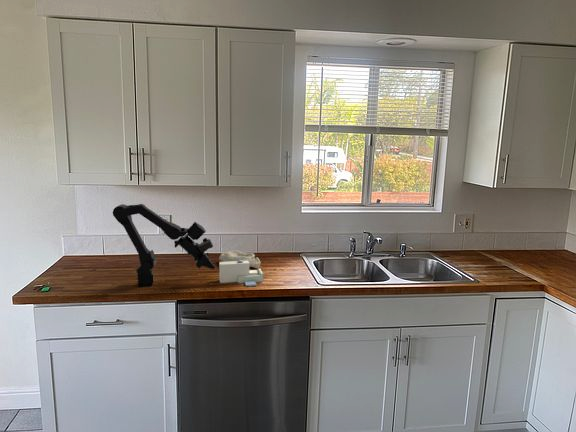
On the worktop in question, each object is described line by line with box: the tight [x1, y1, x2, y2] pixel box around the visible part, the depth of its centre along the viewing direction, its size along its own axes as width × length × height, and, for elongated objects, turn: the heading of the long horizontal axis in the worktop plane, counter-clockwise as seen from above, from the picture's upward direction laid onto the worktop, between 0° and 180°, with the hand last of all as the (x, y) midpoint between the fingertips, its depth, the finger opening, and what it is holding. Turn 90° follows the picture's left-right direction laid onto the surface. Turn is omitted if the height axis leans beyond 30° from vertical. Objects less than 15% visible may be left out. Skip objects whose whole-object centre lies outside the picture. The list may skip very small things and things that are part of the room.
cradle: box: [237, 267, 264, 288], centre depth 205 cm, size 12×20×4 cm, turn 13°
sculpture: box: [218, 249, 262, 269], centre depth 228 cm, size 24×11×15 cm
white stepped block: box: [218, 260, 258, 284], centre depth 203 cm, size 18×4×10 cm, turn 103°
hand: (214, 268), depth 200 cm, fingers closed
